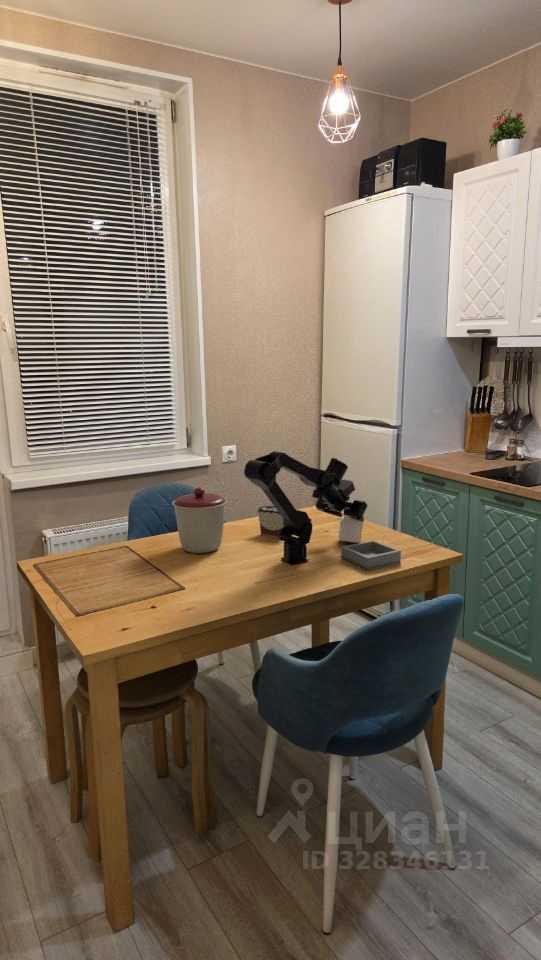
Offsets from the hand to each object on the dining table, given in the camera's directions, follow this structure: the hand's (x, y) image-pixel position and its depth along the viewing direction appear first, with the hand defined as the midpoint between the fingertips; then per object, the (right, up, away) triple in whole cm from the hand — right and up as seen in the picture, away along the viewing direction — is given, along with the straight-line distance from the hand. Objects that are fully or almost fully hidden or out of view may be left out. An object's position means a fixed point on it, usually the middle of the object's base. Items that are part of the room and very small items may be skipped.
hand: (352, 518), depth 213 cm
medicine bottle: (-1, -8, 0) cm, 8 cm away
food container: (-26, -7, +11) cm, 29 cm away
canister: (-51, -10, -4) cm, 53 cm away
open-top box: (+3, -12, -19) cm, 22 cm away
